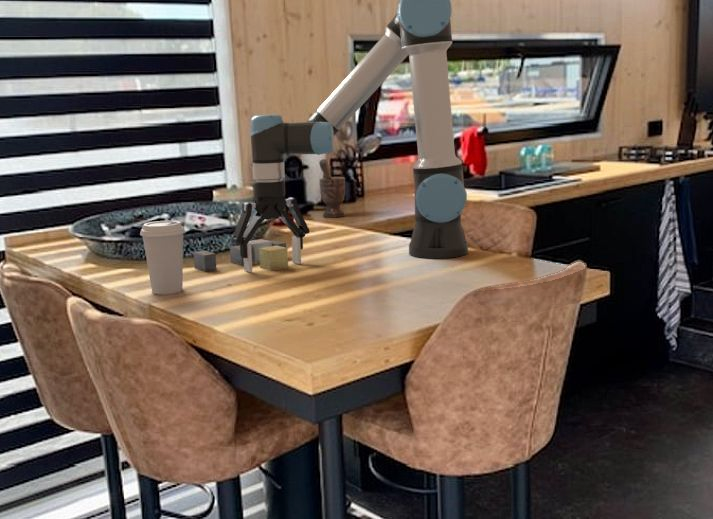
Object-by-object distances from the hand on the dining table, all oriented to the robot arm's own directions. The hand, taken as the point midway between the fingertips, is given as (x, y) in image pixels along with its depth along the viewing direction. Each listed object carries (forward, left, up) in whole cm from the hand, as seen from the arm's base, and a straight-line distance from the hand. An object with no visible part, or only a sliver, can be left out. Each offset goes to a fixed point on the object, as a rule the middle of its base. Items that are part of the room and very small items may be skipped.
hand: (273, 267), depth 207 cm
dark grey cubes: (+11, +3, 0) cm, 11 cm away
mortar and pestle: (+59, -58, 0) cm, 83 cm away
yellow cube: (0, 0, 0) cm, 0 cm away
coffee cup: (-5, +30, 0) cm, 30 cm away
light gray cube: (+11, -2, 0) cm, 11 cm away
